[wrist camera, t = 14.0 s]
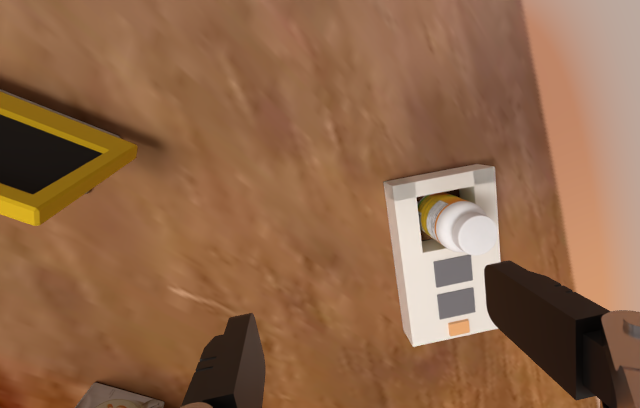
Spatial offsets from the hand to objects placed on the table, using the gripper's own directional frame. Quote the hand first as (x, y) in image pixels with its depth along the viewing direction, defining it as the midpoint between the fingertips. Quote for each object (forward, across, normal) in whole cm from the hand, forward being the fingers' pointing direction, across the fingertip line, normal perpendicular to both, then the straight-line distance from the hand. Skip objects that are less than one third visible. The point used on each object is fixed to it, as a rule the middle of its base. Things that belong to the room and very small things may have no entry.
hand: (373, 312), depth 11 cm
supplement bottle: (+28, -14, +6) cm, 32 cm away
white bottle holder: (+28, -14, +11) cm, 33 cm away
